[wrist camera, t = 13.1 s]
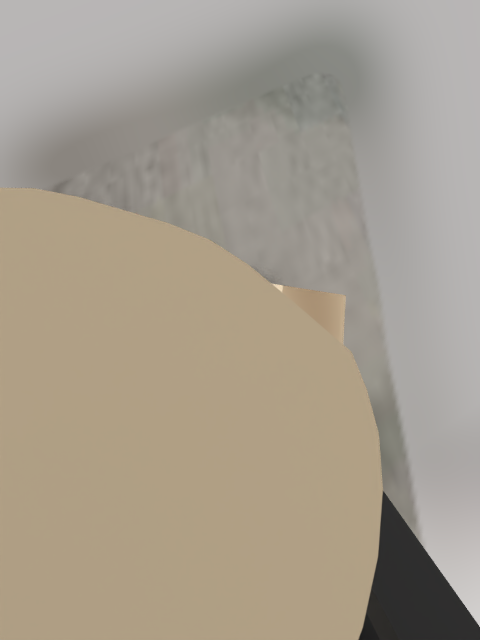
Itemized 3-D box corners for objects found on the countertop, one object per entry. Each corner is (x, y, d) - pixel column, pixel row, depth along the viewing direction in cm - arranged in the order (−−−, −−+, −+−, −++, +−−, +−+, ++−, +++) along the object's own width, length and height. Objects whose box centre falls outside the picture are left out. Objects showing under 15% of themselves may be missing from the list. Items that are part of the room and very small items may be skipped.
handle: (148, 355, 18) (-156, 129, 3) (257, 389, 18) (414, 295, 3) (115, 443, 17) (-609, 669, 2) (233, 480, 16) (314, 1001, 2)
